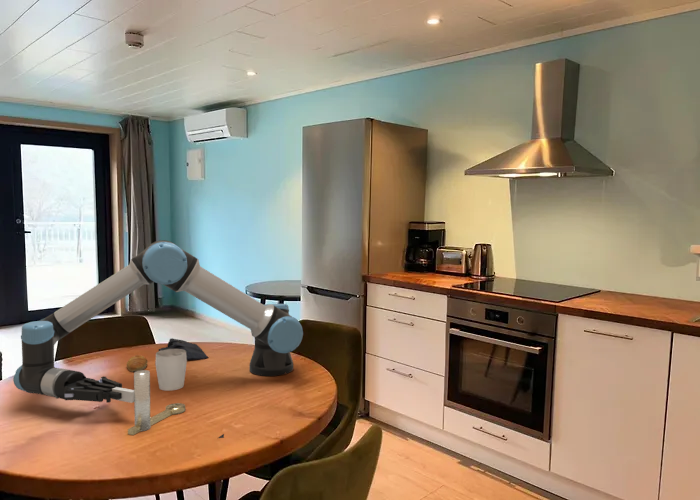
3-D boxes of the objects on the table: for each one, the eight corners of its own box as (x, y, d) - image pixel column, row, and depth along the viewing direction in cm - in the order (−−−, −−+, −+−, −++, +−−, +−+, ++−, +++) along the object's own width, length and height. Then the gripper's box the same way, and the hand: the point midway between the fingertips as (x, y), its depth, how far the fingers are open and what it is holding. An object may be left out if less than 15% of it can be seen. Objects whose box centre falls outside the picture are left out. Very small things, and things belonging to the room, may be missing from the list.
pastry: (147, 372, 176) (146, 361, 176) (125, 374, 174) (125, 362, 173) (147, 364, 185) (147, 353, 184) (127, 366, 182) (126, 355, 182)
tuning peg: (174, 406, 141) (173, 356, 140) (189, 409, 139) (188, 358, 138) (122, 432, 124) (121, 375, 123) (138, 436, 122) (137, 378, 121)
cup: (177, 397, 152) (176, 357, 151) (149, 395, 153) (149, 355, 152) (192, 387, 160) (192, 349, 159) (166, 385, 162) (165, 347, 161)
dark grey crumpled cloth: (169, 365, 184) (168, 352, 184) (157, 351, 203) (157, 339, 203) (211, 359, 192) (211, 347, 192) (196, 346, 211) (196, 334, 211)
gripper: (85, 390, 144) (152, 402, 136) (43, 406, 132) (114, 420, 124) (85, 363, 144) (152, 374, 135) (42, 377, 132) (113, 390, 123)
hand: (134, 396), depth 130 cm, fingers closed
